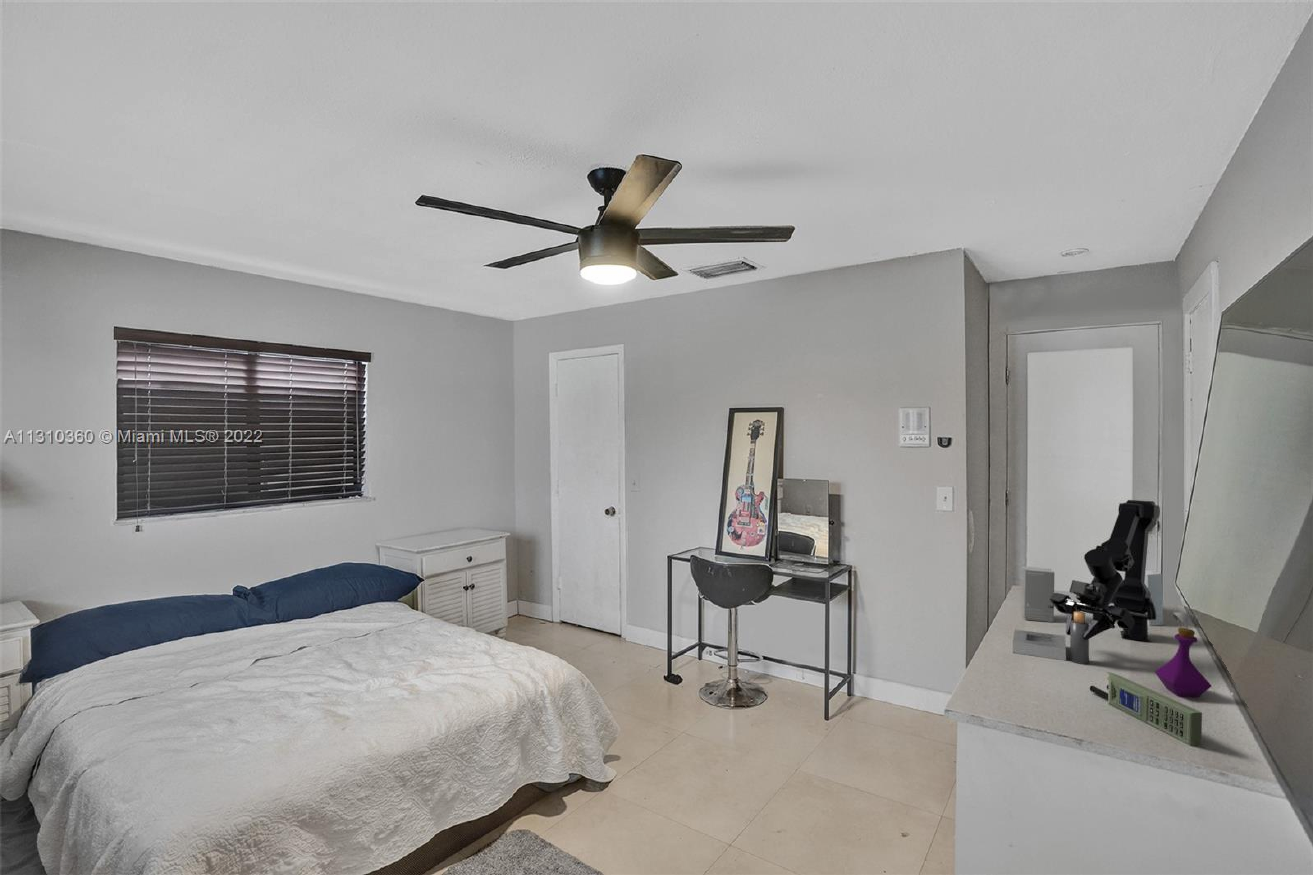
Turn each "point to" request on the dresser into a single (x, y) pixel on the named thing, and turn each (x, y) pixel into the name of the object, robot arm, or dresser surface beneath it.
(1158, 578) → the skincare box
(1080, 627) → the plug
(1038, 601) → the skincare box
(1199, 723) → the handheld radio
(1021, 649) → the socket plate
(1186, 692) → the perfume bottle
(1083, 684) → the dresser surface
